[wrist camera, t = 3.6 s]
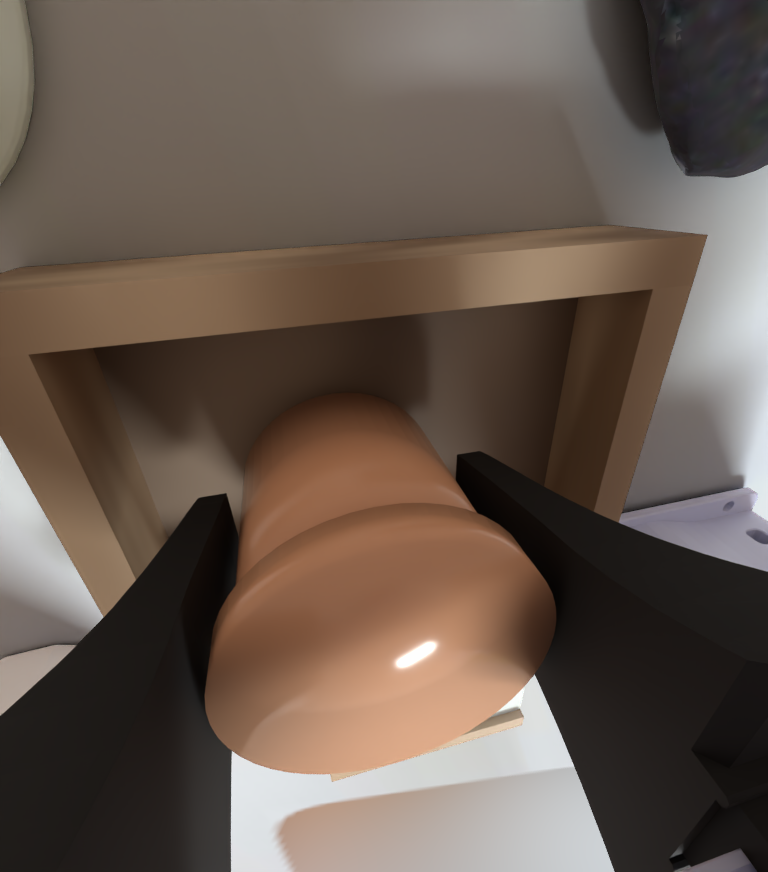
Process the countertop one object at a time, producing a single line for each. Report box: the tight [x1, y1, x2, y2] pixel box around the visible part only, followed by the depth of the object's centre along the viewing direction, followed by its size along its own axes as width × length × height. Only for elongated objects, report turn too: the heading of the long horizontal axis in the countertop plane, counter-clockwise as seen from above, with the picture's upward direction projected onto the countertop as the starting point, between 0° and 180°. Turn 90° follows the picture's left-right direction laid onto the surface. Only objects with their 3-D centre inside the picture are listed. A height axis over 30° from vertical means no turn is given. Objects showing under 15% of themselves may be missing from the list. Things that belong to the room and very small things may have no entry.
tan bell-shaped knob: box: [205, 393, 556, 774], centre depth 9 cm, size 6×6×6 cm
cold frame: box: [0, 225, 707, 617], centre depth 11 cm, size 14×11×4 cm
